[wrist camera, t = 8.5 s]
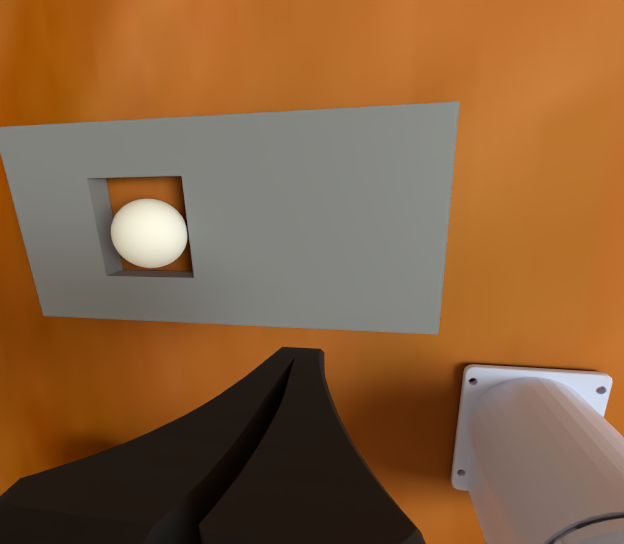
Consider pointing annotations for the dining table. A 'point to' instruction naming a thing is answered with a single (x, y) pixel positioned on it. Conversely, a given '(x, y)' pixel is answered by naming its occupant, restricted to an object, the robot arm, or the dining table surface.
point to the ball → (149, 233)
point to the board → (248, 216)
